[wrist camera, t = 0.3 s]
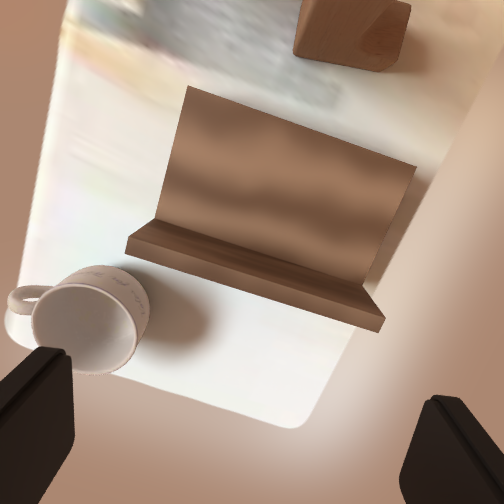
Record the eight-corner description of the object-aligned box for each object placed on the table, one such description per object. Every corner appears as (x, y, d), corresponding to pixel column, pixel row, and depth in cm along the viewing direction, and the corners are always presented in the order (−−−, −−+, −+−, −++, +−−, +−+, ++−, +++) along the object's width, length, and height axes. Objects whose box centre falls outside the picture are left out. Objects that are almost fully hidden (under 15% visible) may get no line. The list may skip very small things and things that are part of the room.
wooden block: (394, 21, 33) (543, -115, 16) (380, 73, 34) (504, 0, 17) (301, 3, 32) (348, -157, 15) (291, 56, 34) (325, -36, 17)
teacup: (174, 286, 41) (154, 318, 34) (134, 352, 44) (108, 395, 37) (67, 226, 39) (20, 245, 32) (32, 299, 42) (-18, 333, 35)
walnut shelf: (197, 93, 35) (167, 68, 23) (396, 164, 37) (458, 172, 25) (164, 221, 39) (124, 253, 27) (344, 280, 41) (378, 333, 29)
